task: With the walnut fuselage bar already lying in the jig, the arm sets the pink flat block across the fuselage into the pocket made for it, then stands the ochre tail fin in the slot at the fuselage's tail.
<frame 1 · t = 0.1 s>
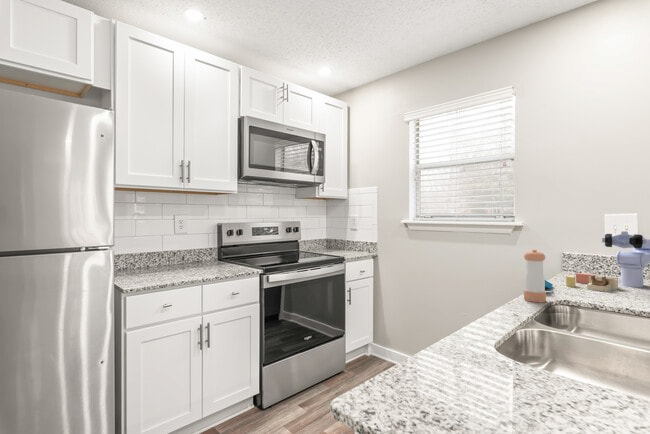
hand: (618, 240, 145), 22 cm above the worktop, tool horizontal, fingers open, 7 cm apart
salt shaker: (534, 300, 135), on the worktop
pink flat block: (585, 285, 163), on the worktop
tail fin: (570, 287, 157), on the worktop
lever: (537, 292, 151), on the worktop
jig: (601, 290, 152), on the worktop
fuselage: (601, 288, 152), point 1 cm above the worktop, touching jig
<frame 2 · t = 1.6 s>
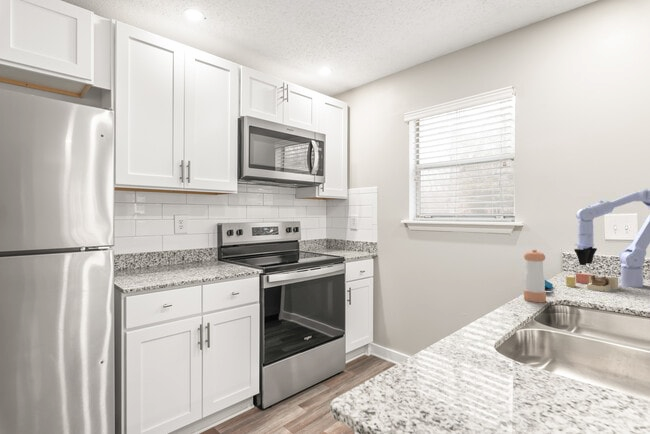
hand: (585, 264, 163), 9 cm above the worktop, tool pointing down, fingers open, 7 cm apart
nothing on the worktop moved.
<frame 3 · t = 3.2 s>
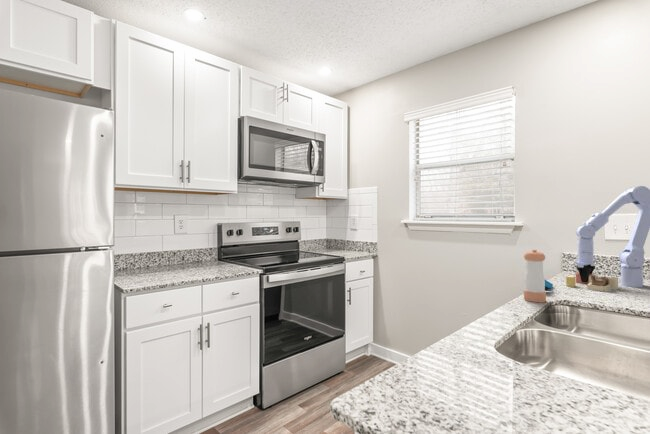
hand: (585, 281, 163), 1 cm above the worktop, tool pointing down, fingers closed on pink flat block, 2 cm apart
pink flat block: (585, 284, 163), on the worktop, touching gripper
everything else where it was.
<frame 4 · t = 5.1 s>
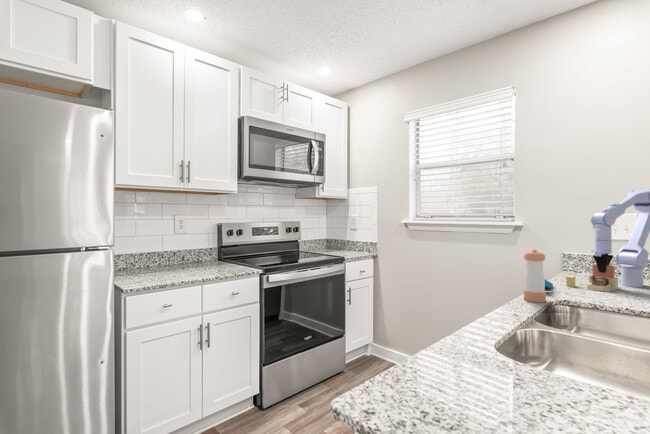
hand: (603, 271, 153), 8 cm above the worktop, tool pointing down, fingers closed on pink flat block, 2 cm apart
pink flat block: (603, 276, 153), point 5 cm above the worktop, touching gripper
everything else where it was.
when the fingers open (7 cm above the worktop, at t = 5.3 s): pink flat block stays where it is, resting on jig.
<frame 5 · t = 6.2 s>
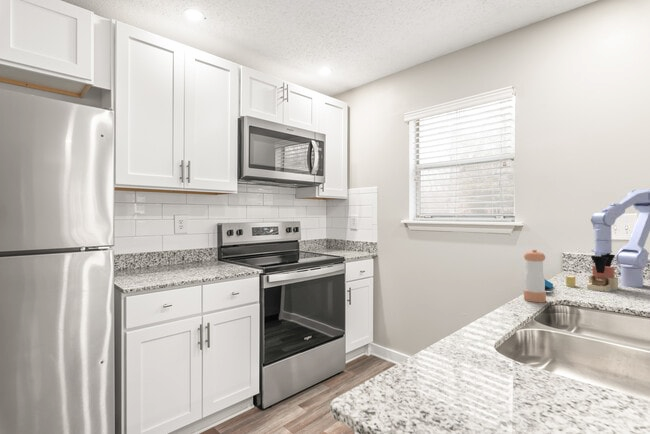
hand: (603, 271, 153), 8 cm above the worktop, tool pointing down, fingers open, 7 cm apart
pink flat block: (603, 278, 153), point 5 cm above the worktop, touching jig
everything else where it was.
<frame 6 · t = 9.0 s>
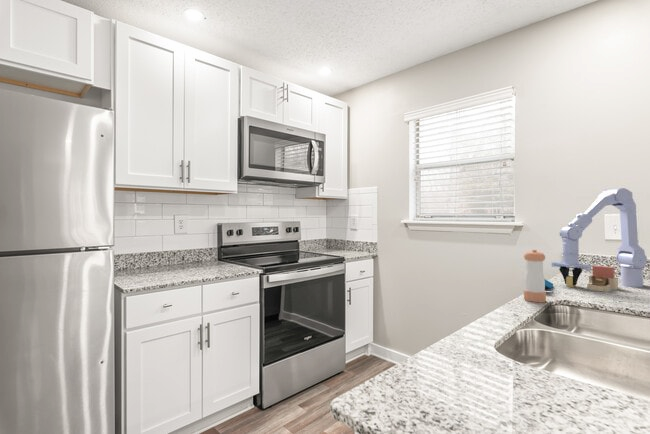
hand: (570, 284, 157), 1 cm above the worktop, tool pointing down, fingers closed on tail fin, 2 cm apart
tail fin: (570, 287, 157), on the worktop, touching gripper
everything else where it was.
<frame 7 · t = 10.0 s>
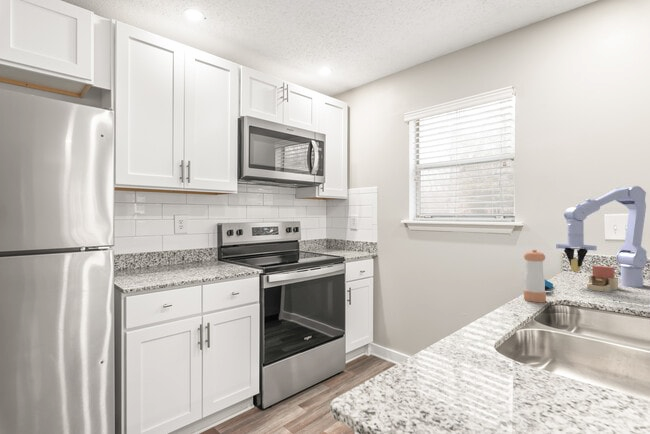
hand: (575, 265, 155), 10 cm above the worktop, tool pointing down, fingers closed on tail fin, 2 cm apart
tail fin: (575, 270, 155), point 8 cm above the worktop, touching gripper
when the fingers open (7 cm above the worktop, at t = 11.3 s): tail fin stays where it is, resting on fuselage.
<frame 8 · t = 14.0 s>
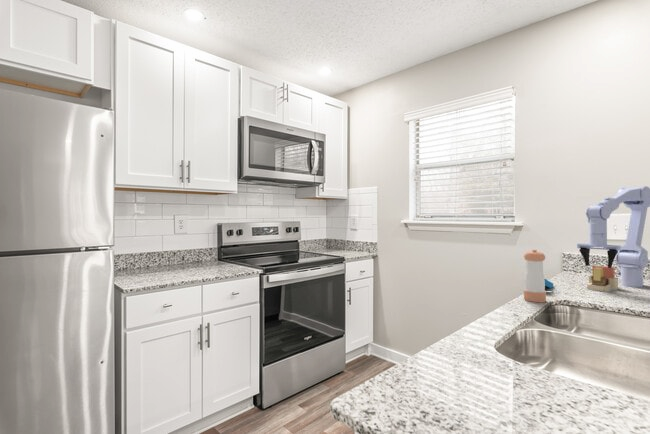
hand: (598, 266, 149), 10 cm above the worktop, tool pointing down, fingers open, 7 cm apart
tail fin: (598, 280, 149), point 5 cm above the worktop, touching fuselage
fuselage: (601, 288, 152), point 1 cm above the worktop, touching jig, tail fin
at the end: pink flat block 0.1 cm from the target spot on the fuselage, point 4.0 cm above the fuselage's base; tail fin 0.3 cm from the target spot on the fuselage, point 4.0 cm above the fuselage's base; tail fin tilted 0° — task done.
